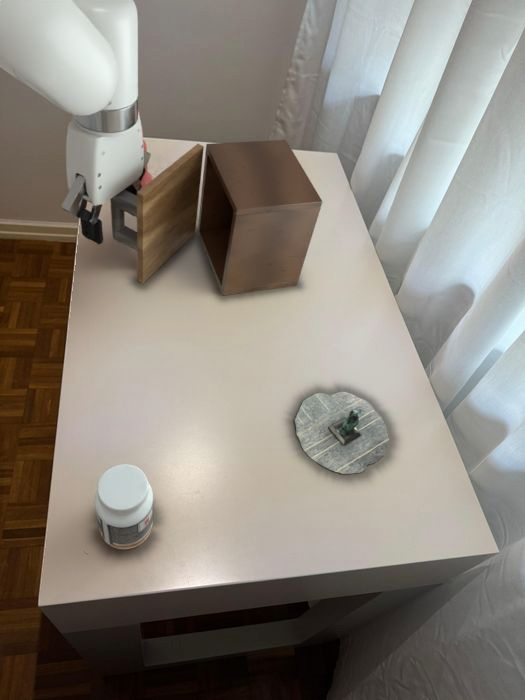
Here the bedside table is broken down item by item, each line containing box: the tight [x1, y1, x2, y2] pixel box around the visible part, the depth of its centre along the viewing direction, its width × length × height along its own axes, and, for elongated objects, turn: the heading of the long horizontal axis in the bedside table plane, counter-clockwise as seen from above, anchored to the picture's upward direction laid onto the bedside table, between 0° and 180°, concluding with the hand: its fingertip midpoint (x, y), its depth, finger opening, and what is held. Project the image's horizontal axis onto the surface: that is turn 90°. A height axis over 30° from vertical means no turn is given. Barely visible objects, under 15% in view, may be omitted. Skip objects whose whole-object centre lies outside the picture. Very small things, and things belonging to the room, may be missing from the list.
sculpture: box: [294, 391, 390, 475], centre depth 73 cm, size 12×9×8 cm
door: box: [109, 143, 205, 285], centre depth 82 cm, size 7×14×16 cm, turn 151°
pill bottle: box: [93, 463, 154, 550], centre depth 58 cm, size 6×6×10 cm
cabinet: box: [197, 139, 323, 297], centre depth 84 cm, size 12×14×16 cm
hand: (111, 224), depth 81 cm, fingers open, 7 cm apart
